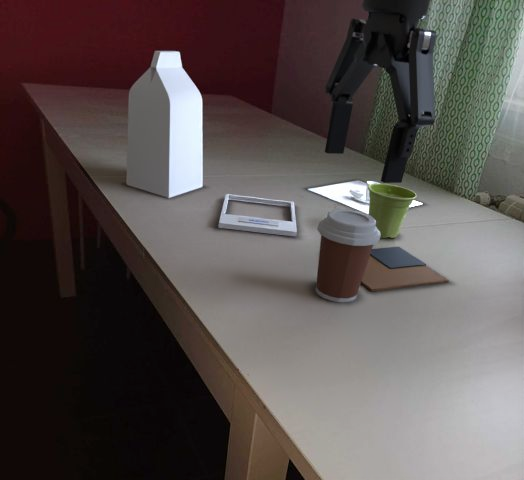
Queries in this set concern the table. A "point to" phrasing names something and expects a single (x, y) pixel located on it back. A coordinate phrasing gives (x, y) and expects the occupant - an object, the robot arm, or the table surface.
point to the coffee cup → (344, 253)
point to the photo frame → (258, 223)
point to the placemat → (397, 270)
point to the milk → (165, 129)
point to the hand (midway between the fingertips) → (360, 166)
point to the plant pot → (389, 207)
